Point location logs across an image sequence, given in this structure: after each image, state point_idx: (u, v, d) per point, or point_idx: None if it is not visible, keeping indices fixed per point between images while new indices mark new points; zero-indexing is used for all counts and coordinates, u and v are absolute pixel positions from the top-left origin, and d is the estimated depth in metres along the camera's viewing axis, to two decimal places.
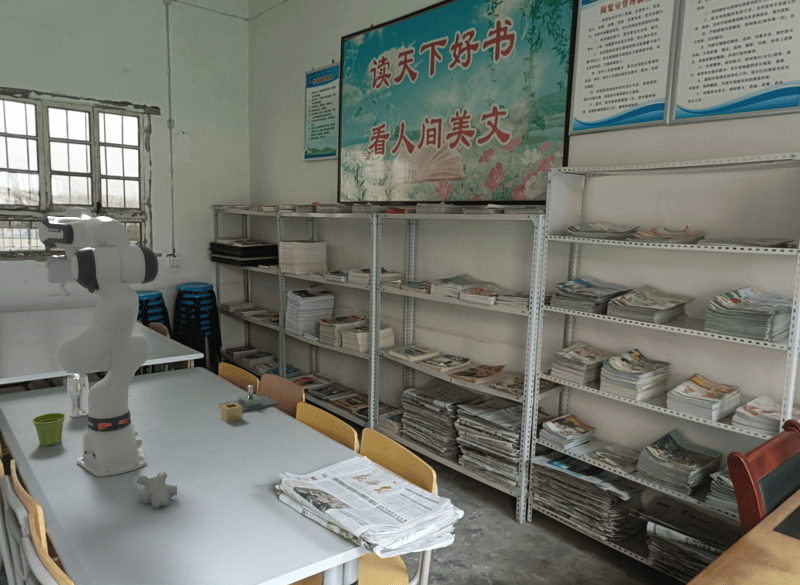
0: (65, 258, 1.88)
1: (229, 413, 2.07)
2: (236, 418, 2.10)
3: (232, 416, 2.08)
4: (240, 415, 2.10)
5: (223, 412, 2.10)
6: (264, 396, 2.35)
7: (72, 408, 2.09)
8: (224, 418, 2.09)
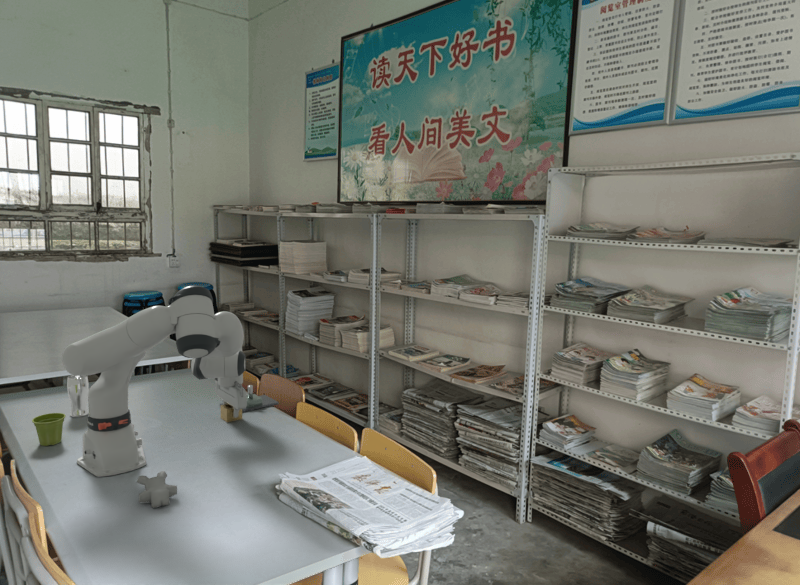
0: None
1: (229, 413, 2.07)
2: (236, 418, 2.10)
3: (232, 416, 2.08)
4: (240, 415, 2.10)
5: (223, 412, 2.10)
6: (264, 396, 2.35)
7: (72, 408, 2.09)
8: (224, 418, 2.09)
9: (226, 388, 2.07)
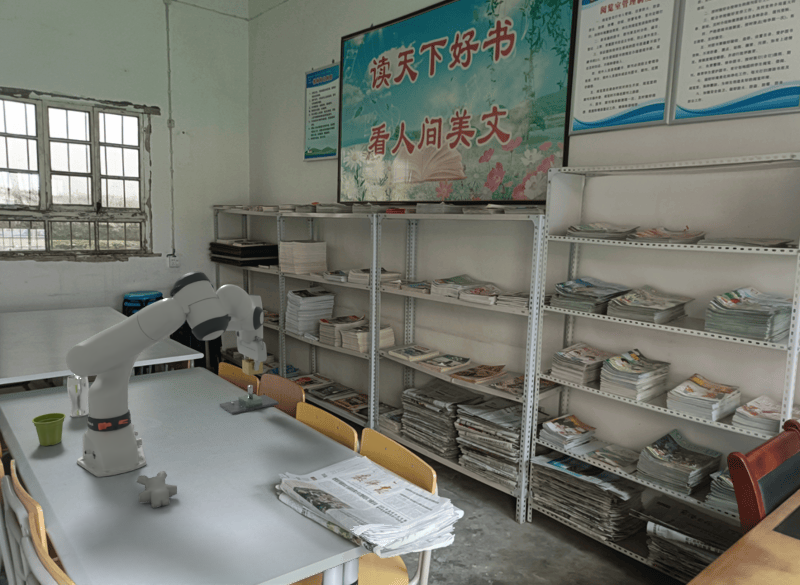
0: None
1: (250, 366, 2.19)
2: (257, 372, 2.21)
3: (253, 369, 2.20)
4: (261, 369, 2.22)
5: (244, 366, 2.21)
6: (264, 396, 2.35)
7: (72, 408, 2.09)
8: (246, 371, 2.20)
9: (247, 342, 2.18)
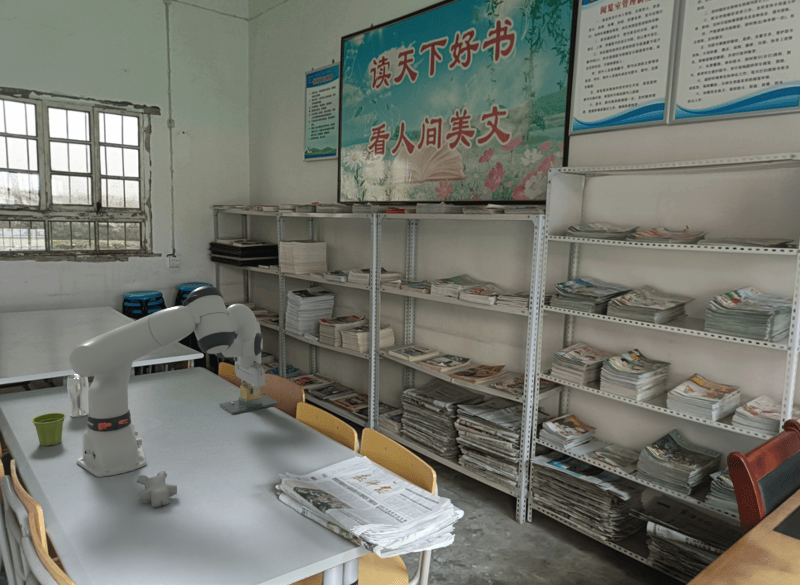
0: None
1: (249, 392, 2.21)
2: (255, 397, 2.24)
3: (251, 395, 2.22)
4: (259, 394, 2.25)
5: (242, 391, 2.24)
6: (264, 396, 2.35)
7: (72, 408, 2.09)
8: (244, 397, 2.23)
9: (246, 368, 2.21)
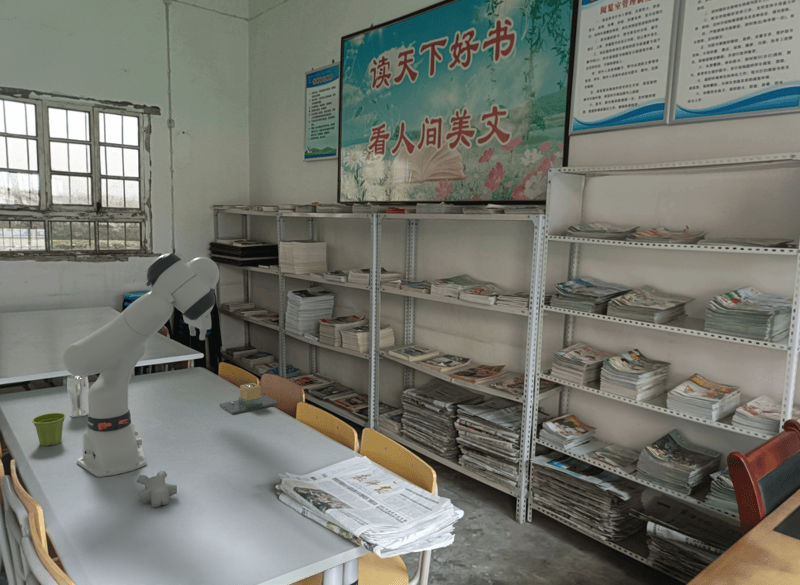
0: None
1: (249, 392, 2.21)
2: (255, 397, 2.24)
3: (251, 395, 2.22)
4: (259, 394, 2.25)
5: (242, 391, 2.24)
6: (264, 396, 2.35)
7: (72, 408, 2.09)
8: (244, 397, 2.23)
9: None
